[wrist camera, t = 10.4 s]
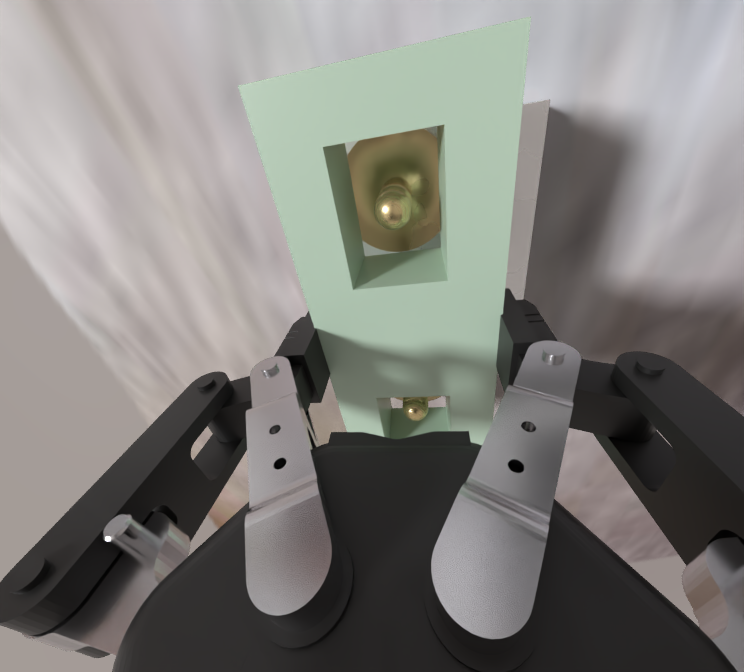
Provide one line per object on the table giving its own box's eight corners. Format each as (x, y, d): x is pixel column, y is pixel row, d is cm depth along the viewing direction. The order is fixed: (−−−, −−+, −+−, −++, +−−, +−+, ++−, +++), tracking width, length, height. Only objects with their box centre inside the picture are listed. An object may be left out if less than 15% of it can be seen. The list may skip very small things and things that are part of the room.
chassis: (273, 146, 15) (177, 164, 9) (538, 95, 13) (650, 73, 7) (335, 358, 22) (305, 447, 16) (508, 348, 20) (549, 447, 14)
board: (282, 94, 10) (237, 86, 7) (497, 45, 8) (531, 16, 6) (367, 425, 19) (360, 472, 16) (477, 424, 17) (487, 474, 15)
